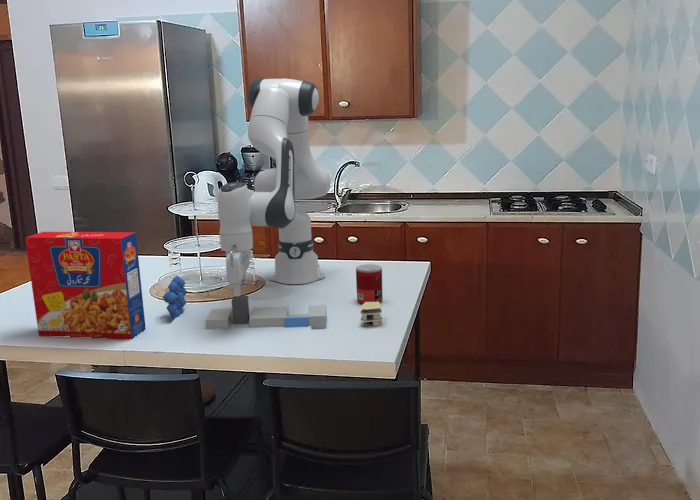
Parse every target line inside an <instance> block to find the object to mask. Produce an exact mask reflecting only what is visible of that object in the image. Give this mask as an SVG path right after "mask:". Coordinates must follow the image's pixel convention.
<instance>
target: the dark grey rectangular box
mask: <svg viewBox="0 0 700 500" xmlns="http://www.w3.org/2000/svg"><path fill="white" fill-rule="evenodd" d="M231 308H232V314H233V324H248V322H249V316H250V307H249V296H248V295H240V296H234V295H233V297H232V298H231Z"/></svg>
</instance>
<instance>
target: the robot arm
mask: <svg viewBox="0 0 700 500" xmlns="http://www.w3.org/2000/svg"><path fill="white" fill-rule="evenodd" d="M319 97H320V96H319V91H318V87H317V86H316V85H315V83H314V82H311V81H309V80H299V79H294V78H285V77H284V78H264V77H261V78H260V77H259V78H256V79H253V80H252V81H251V82H250V83H249V85H248V89H247V104H248V106H249V107H250V109H251V113H250V117H249V123H248V126H247V137H248V141H249V142H250V144H251V145H252V147H253V148H255V149H256V150H257V151H258V152H260V153H261V154H263V155H265V156H268V157H270V158H272V159H274V161H275V164H276V165H275V167H276V168H275V167H274V168H269V169H265V170H261V171H259V172H258V173H257V174H256V176H255V178H254V182H253V183H254V184H253V187H254V190H252V189H249V188H248V186H247V183H245V182H241V181H232V182H228V183H225V184H222V185H221V186H220V188H219V189H218V195H217V216H218V217H217V218H218V221H219V224H220V225H219V226H220V228H219V243H220V250H221V251H223V252H225V256H226V258H225V269H226V280H227V283H228V284H231V286H232V287H231V288H232V290H233V297H234V296H242V289H241V288H245V287H246V284H247V283H246V275H247V274H246V273H247V270H248V268H249V267H250V260H251V249H254V238H253V228H252V226H256V227H269V228H275V229H278V237H279V238H278V243H277V246H278V253H277V254H276V255H275V257H274V273H273V274H272V275H270V279H269V280H270V281H272V282H278V283H280V284H286V285H301V284H302V285H303V284H308V283H313V282H316V281H318V280H324V279H325V275H324V273H323V272H322V270H321V269H320V264H319V259H318V258H319V257H318V256H319V255H317V253H316V252H314V239H313V238H312V222H311V217H310V215H309V214H308V213H307V212H306V211H304V210H301V209H299V208H297V207H296V201H297V200H312V199H317V198H320V197H325V196H326V195H327V194H328V192H329V191H330V189H331V184H332V183H331V182H332V181H331V177H330V174H329V172H328V171H327V170H326V169H325V168H324V167H322V166H321V165H319V163H317V161H316V160H315V158H314V156H313V155H312V152H311V148H310V147H311V146H310V138H309V137H310V136H309V135H310V131H309V130H310V129H309V126H310V125H309V116H311V115H313V114H314V113H315V112H316V110H317V109H318V104H319V101H320V98H319Z"/></svg>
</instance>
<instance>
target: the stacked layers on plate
mask: <svg viewBox="0 0 700 500" xmlns="http://www.w3.org/2000/svg"><path fill="white" fill-rule="evenodd" d="M381 308H382V305H381V303H379V302H365V303H364V304H363V305H362V304H361V305H360V309H361V310H360V315H361V318H360V321H361V322H364V323H370V322H372V326H374V327H378V326H381V324H382V323H381V322H382V320H383V317H382V315H381V314H382V309H381Z"/></svg>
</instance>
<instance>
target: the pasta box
mask: <svg viewBox="0 0 700 500" xmlns="http://www.w3.org/2000/svg"><path fill="white" fill-rule="evenodd" d="M24 238H25V246H26V247H25V248H26V254H27V260H28V268H29V276H30V282H31V289H32V296H33V303H34V311H35V318H36V324H37V331H38V336H39V337H51V336H70V337H69V338H75V337H91V338H90V339H99V338H107V339H106V340H123V339H132V340H133V338H134V337H135V336H136V337H138V336H139V335H140V333H141V332H142V333H143V332H145V331H146V330H147V328H146V319H145V309H144V308H145V307H144V299H143V290H142V288H143V287H142V281H141V271H140V269H141V268H140V262H139V261H140V260H139V252H138V242H137V241H138V239H137V233H136V232H129V231H127V232H123V231H120V232H119V231H115V232H114V231H41V232H38V233H35V234H32V235H29V236H27V237H24ZM145 329H146V330H145ZM144 330H145V331H144ZM142 333H141V334H142ZM138 334H139V335H138ZM137 335H138V336H137ZM136 337H135V338H136ZM135 338H134V339H135Z"/></svg>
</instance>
